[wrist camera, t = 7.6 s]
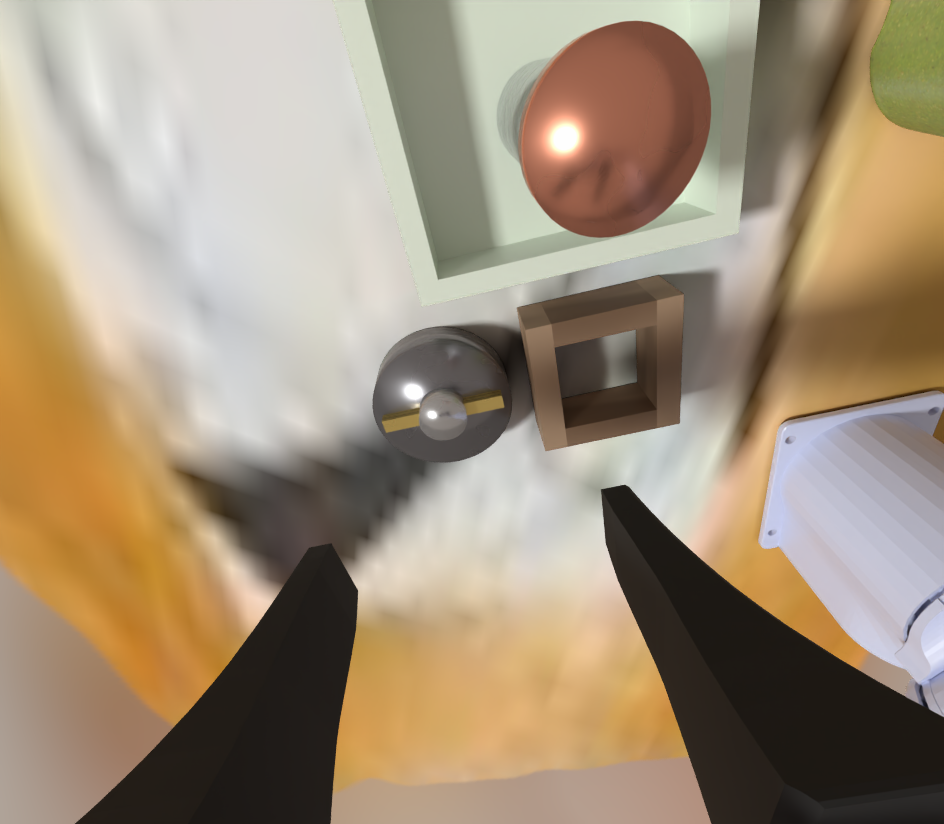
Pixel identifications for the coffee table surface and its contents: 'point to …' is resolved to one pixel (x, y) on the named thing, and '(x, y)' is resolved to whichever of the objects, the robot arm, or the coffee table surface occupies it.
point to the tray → (482, 152)
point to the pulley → (442, 395)
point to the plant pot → (911, 65)
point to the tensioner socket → (594, 316)
